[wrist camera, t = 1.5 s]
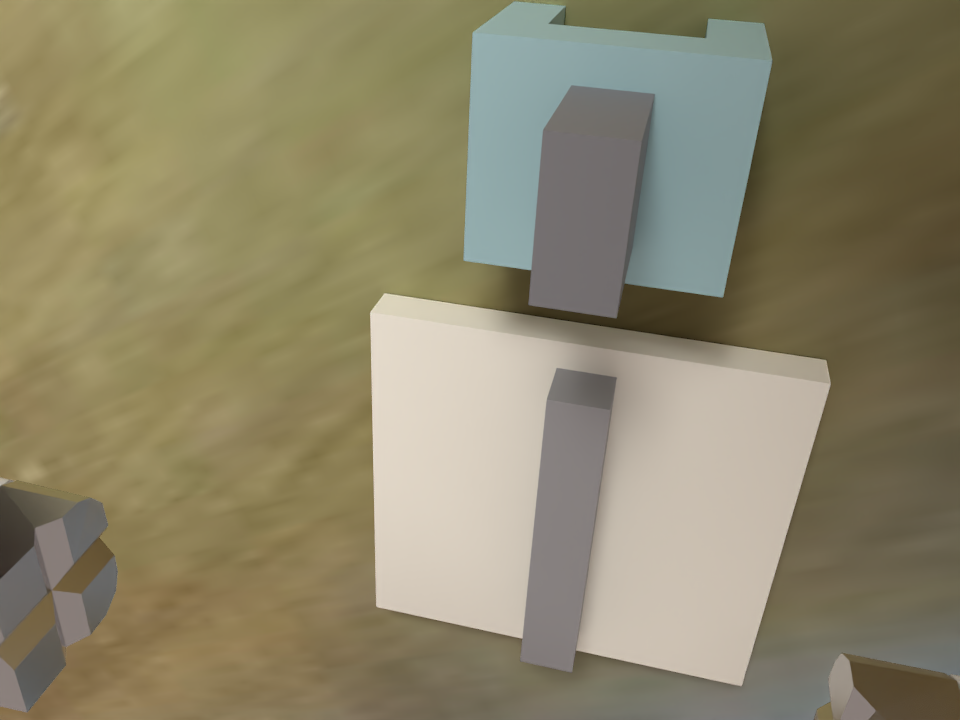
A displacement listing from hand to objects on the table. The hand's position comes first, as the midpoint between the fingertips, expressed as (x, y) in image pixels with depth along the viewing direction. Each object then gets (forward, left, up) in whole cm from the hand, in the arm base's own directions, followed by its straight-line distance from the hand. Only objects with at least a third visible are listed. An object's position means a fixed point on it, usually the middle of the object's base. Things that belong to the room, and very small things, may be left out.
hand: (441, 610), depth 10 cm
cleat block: (0, 0, -20) cm, 20 cm away
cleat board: (+14, 0, -20) cm, 24 cm away
